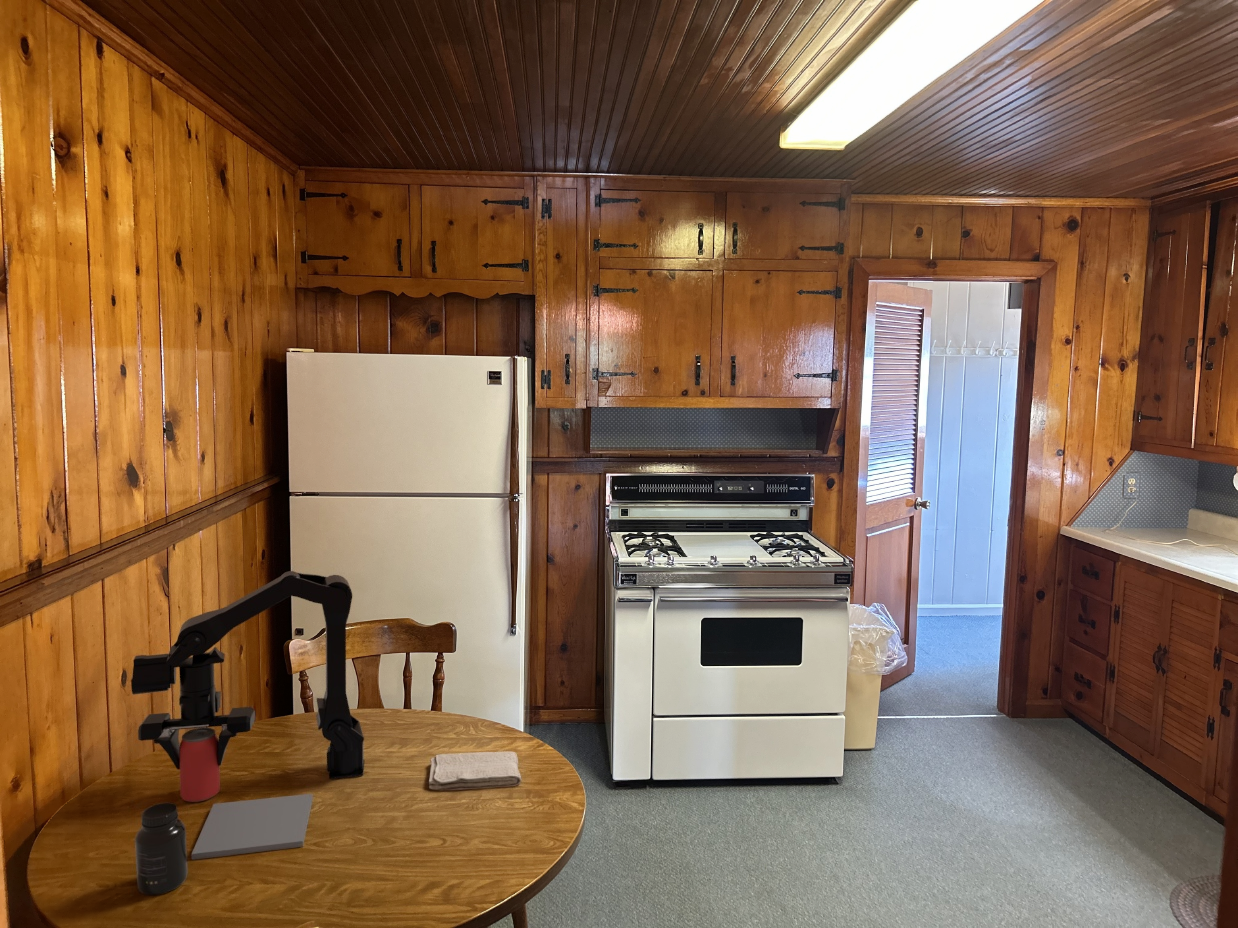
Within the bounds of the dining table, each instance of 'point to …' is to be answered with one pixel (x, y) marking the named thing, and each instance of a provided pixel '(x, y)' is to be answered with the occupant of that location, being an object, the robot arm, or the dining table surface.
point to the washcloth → (474, 770)
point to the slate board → (254, 826)
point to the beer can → (199, 765)
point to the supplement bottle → (161, 850)
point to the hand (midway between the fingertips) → (199, 766)
